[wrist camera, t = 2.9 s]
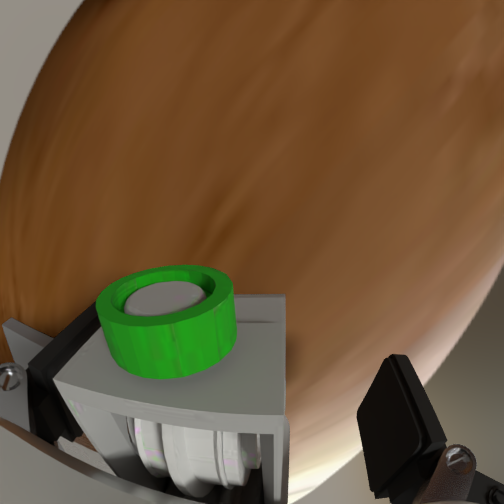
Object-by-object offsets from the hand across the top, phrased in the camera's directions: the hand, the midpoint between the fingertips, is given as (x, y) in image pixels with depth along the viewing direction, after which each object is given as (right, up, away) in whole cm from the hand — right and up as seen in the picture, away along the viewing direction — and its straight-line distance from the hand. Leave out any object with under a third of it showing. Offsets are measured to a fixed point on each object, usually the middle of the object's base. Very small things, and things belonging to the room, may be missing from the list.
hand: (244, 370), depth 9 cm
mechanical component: (0, +1, +4) cm, 4 cm away
